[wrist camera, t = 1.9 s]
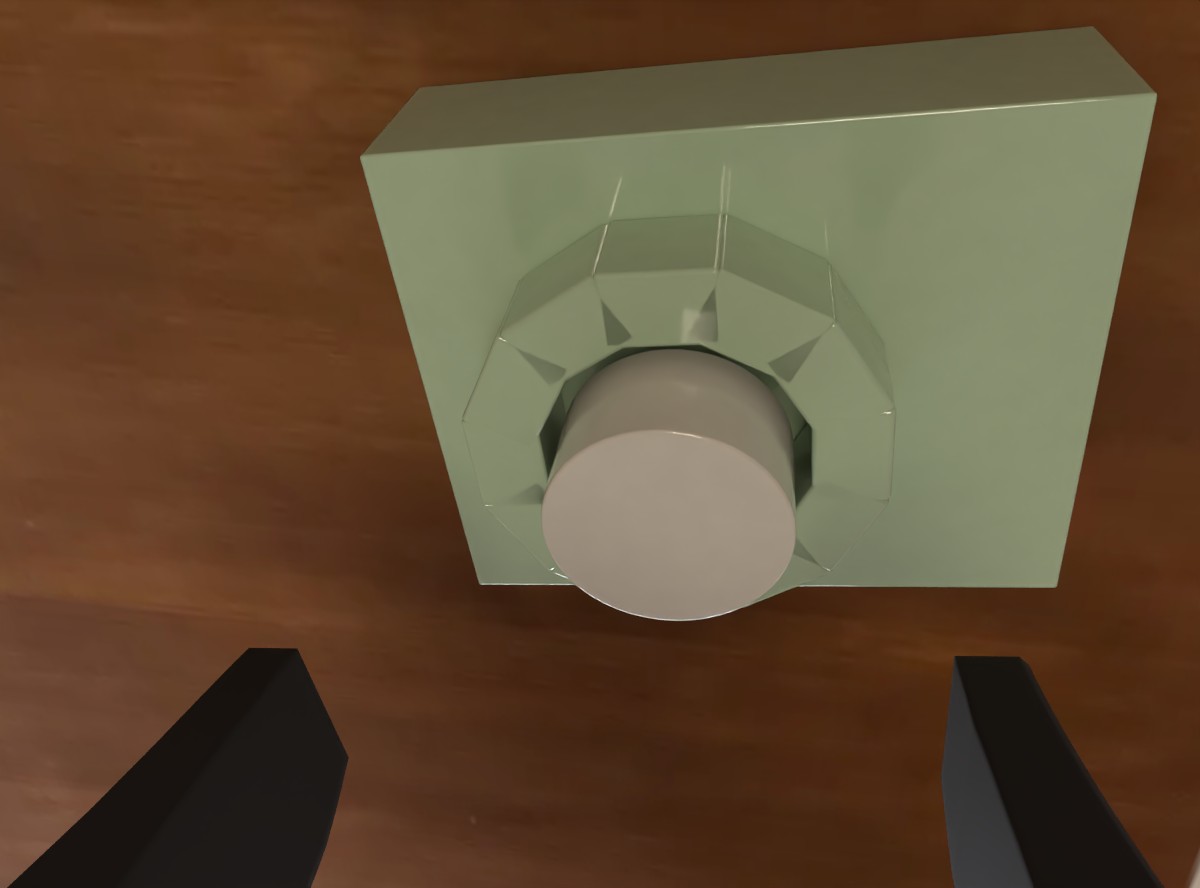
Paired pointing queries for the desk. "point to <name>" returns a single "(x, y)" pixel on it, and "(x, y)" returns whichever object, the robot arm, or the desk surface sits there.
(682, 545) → the beige button cap
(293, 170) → the desk surface
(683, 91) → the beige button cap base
